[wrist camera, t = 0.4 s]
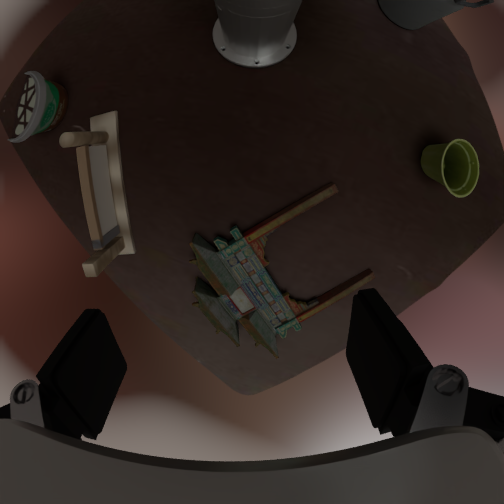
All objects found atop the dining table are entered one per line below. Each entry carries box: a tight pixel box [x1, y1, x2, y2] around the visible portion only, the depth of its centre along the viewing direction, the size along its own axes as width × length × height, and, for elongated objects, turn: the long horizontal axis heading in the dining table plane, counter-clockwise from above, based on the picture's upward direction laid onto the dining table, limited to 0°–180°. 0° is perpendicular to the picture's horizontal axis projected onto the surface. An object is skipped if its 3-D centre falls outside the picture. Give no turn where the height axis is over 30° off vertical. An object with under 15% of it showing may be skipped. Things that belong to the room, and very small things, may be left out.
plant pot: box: [421, 139, 479, 197], centre depth 35 cm, size 9×9×9 cm
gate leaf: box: [76, 145, 120, 250], centre depth 36 cm, size 15×2×7 cm, turn 3°
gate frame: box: [59, 111, 136, 277], centre depth 35 cm, size 24×5×12 cm, turn 3°
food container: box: [9, 71, 68, 142], centre depth 29 cm, size 12×6×10 cm, turn 160°
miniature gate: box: [189, 183, 375, 359], centre depth 45 cm, size 27×6×30 cm
